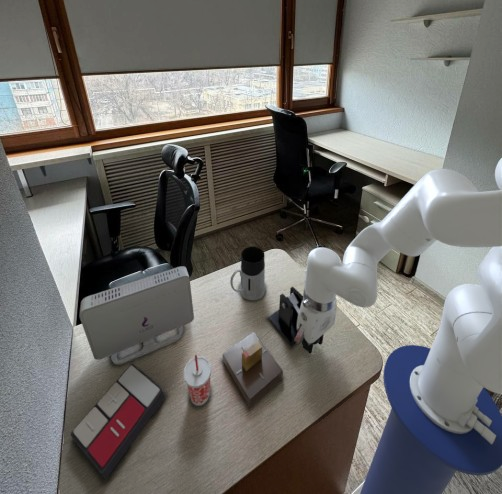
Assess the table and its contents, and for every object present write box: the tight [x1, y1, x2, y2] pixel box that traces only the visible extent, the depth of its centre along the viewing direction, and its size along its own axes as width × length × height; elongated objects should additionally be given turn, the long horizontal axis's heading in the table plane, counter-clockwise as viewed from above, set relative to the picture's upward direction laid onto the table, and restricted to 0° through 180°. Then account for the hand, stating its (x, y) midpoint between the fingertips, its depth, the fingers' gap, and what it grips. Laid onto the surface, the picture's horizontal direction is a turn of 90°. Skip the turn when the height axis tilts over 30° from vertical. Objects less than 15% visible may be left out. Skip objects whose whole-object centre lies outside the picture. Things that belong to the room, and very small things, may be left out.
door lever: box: [286, 293, 320, 346], centre depth 73 cm, size 13×3×3 cm
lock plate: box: [222, 331, 284, 407], centre depth 68 cm, size 12×10×3 cm
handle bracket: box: [267, 286, 303, 348], centre depth 77 cm, size 10×8×12 cm
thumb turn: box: [242, 341, 262, 371], centre depth 66 cm, size 5×2×5 cm, turn 127°
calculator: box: [70, 363, 166, 479], centre depth 58 cm, size 11×4×15 cm
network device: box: [79, 265, 195, 366], centre depth 72 cm, size 26×9×20 cm, turn 116°
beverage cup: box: [183, 354, 212, 406], centre depth 61 cm, size 6×6×14 cm
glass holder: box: [230, 246, 266, 301], centre depth 86 cm, size 9×14×15 cm, turn 139°
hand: (311, 343), depth 72 cm, fingers closed on door lever, 3 cm apart
